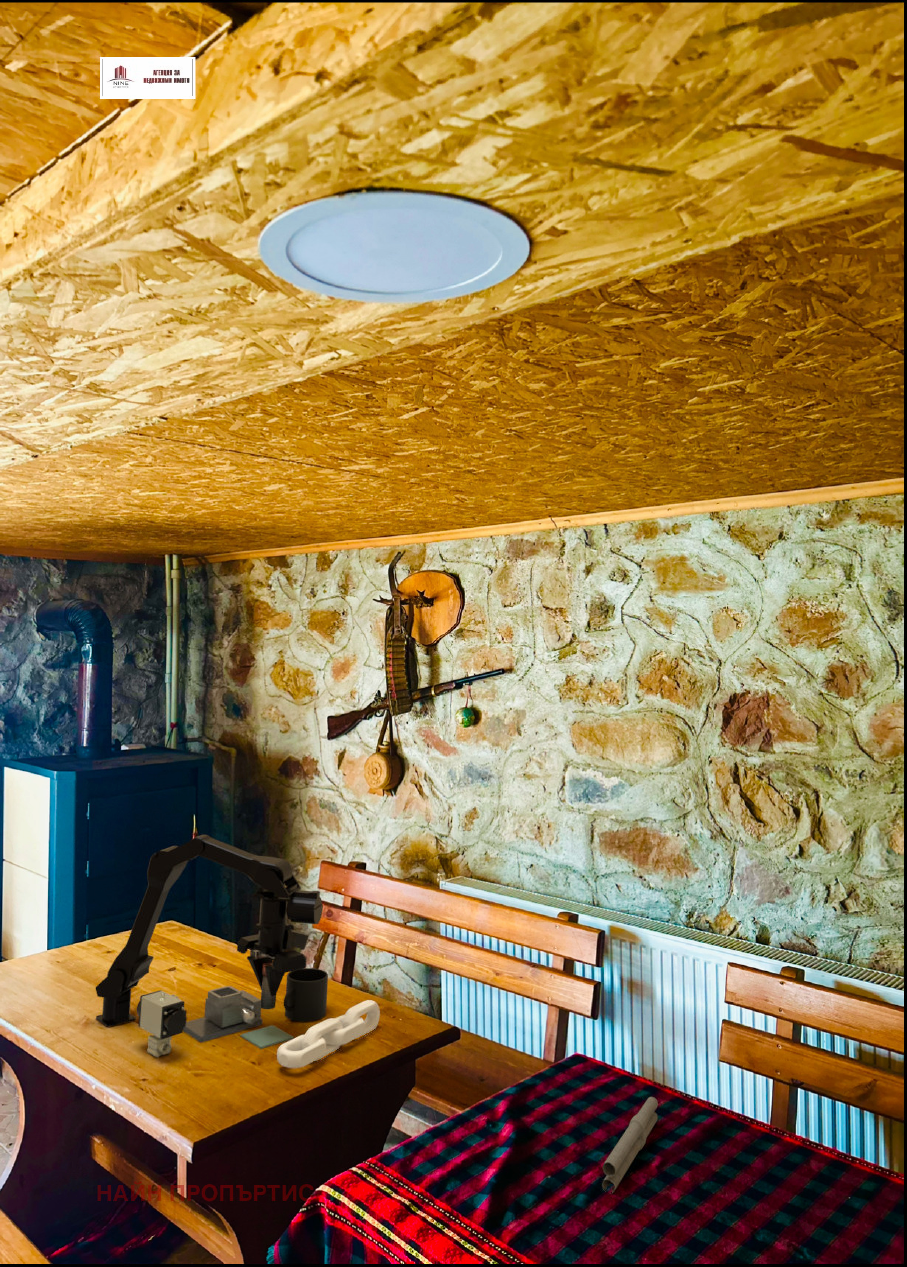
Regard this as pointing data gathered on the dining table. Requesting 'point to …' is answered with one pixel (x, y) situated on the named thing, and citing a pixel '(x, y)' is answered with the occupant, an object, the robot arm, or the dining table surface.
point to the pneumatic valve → (161, 1020)
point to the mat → (266, 1036)
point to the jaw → (224, 1006)
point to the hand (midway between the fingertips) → (268, 993)
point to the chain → (329, 1036)
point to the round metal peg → (266, 991)
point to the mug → (306, 995)
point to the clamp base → (209, 1030)
